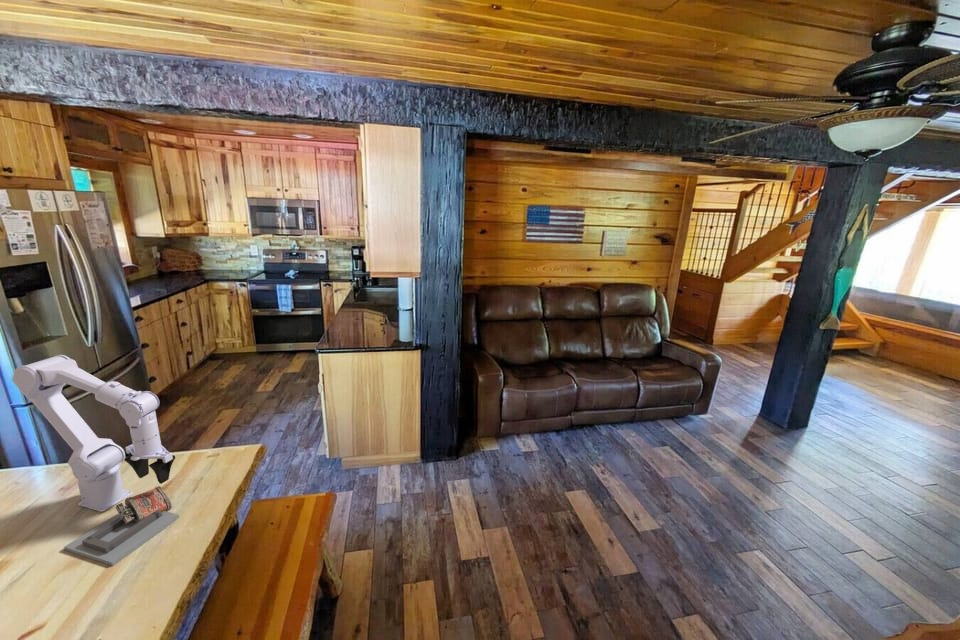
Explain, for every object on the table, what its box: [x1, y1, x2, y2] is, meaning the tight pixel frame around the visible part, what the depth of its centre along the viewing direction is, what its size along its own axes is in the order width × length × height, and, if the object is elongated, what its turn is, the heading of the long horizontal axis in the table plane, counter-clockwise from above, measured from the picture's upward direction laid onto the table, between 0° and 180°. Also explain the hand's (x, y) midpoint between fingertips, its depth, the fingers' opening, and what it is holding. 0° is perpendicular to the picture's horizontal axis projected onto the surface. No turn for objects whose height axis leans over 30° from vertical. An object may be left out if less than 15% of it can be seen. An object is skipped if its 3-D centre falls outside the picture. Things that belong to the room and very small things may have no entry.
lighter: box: [115, 485, 173, 524], centre depth 104 cm, size 8×3×10 cm
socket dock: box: [63, 509, 180, 567], centre depth 99 cm, size 16×16×2 cm
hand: (153, 478), depth 108 cm, fingers open, 7 cm apart
